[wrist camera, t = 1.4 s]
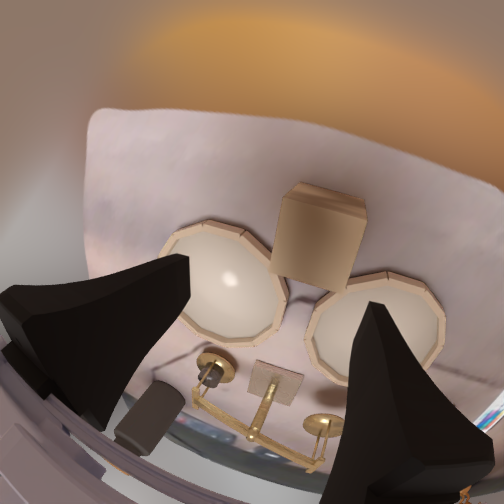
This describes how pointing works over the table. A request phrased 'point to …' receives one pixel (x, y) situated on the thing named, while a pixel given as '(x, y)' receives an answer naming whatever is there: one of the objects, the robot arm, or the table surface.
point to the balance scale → (264, 405)
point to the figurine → (464, 492)
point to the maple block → (318, 236)
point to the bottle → (148, 419)
